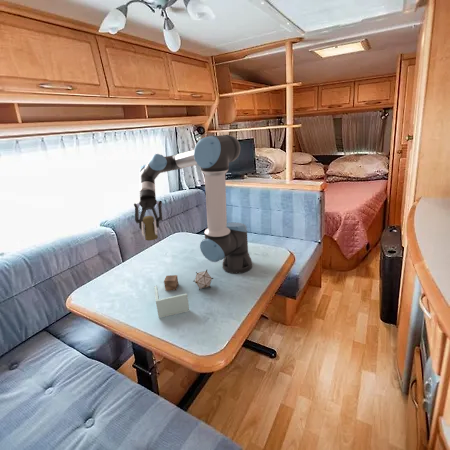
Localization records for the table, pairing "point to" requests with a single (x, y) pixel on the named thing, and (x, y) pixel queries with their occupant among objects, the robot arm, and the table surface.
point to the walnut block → (171, 282)
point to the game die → (203, 279)
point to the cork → (149, 228)
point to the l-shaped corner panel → (171, 304)
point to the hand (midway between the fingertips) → (149, 234)
